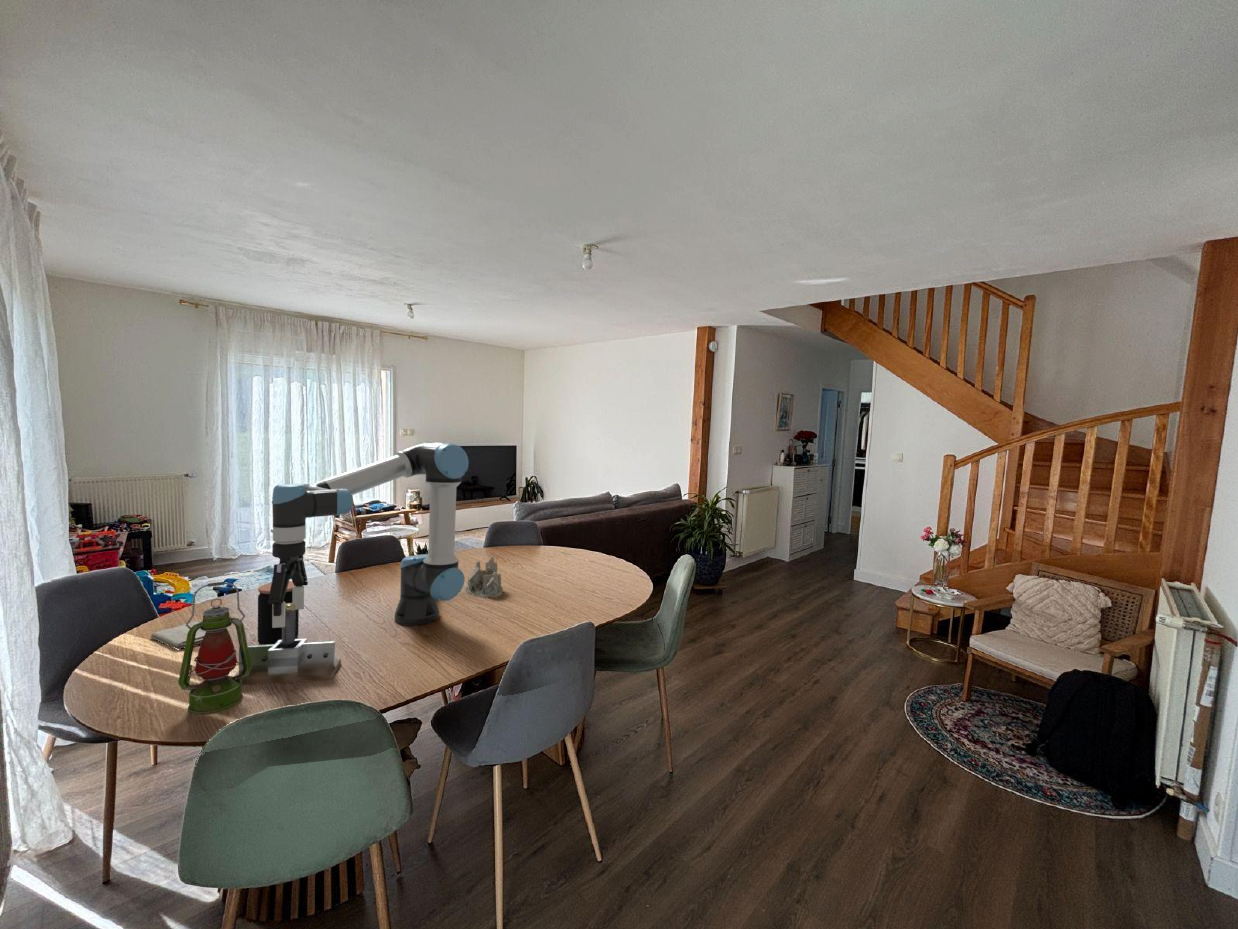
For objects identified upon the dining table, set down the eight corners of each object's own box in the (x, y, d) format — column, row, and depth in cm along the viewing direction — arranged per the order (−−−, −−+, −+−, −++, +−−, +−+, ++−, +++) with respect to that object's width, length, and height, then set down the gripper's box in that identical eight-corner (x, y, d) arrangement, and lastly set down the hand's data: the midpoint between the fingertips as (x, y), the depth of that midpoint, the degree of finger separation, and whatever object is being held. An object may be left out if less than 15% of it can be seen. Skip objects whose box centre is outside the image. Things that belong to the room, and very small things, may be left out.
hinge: (337, 660, 144) (338, 637, 144) (330, 672, 137) (330, 647, 137) (245, 666, 138) (245, 641, 138) (233, 678, 132) (233, 652, 131)
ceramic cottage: (466, 586, 223) (468, 553, 221) (504, 587, 226) (506, 555, 224) (461, 600, 208) (463, 565, 206) (501, 601, 210) (503, 566, 209)
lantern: (177, 723, 114) (176, 593, 112) (179, 702, 122) (179, 581, 120) (252, 704, 123) (253, 584, 121) (250, 686, 131) (250, 573, 129)
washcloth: (178, 653, 149) (178, 642, 149) (148, 640, 157) (148, 630, 157) (224, 639, 160) (224, 629, 160) (194, 628, 167) (194, 619, 167)
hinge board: (340, 664, 145) (340, 659, 145) (331, 679, 137) (331, 673, 137) (245, 670, 139) (245, 665, 139) (229, 686, 131) (229, 680, 131)
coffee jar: (306, 638, 162) (306, 583, 161) (274, 651, 152) (274, 593, 151) (282, 633, 165) (282, 579, 164) (249, 645, 155) (249, 588, 154)
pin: (296, 666, 140) (297, 602, 139) (292, 671, 137) (293, 606, 136) (284, 667, 139) (284, 603, 138) (279, 672, 136) (280, 606, 135)
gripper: (291, 532, 147) (291, 603, 148) (252, 552, 123) (252, 636, 124) (319, 532, 149) (319, 601, 150) (286, 551, 125) (286, 634, 126)
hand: (289, 617), depth 137 cm, fingers open, 13 cm apart
